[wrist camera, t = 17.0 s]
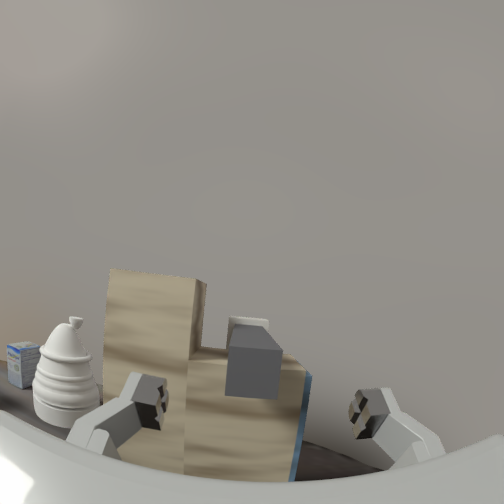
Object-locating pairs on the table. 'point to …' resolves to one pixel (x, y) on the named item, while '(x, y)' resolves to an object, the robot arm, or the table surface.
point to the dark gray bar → (252, 359)
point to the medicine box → (22, 363)
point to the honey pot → (64, 378)
